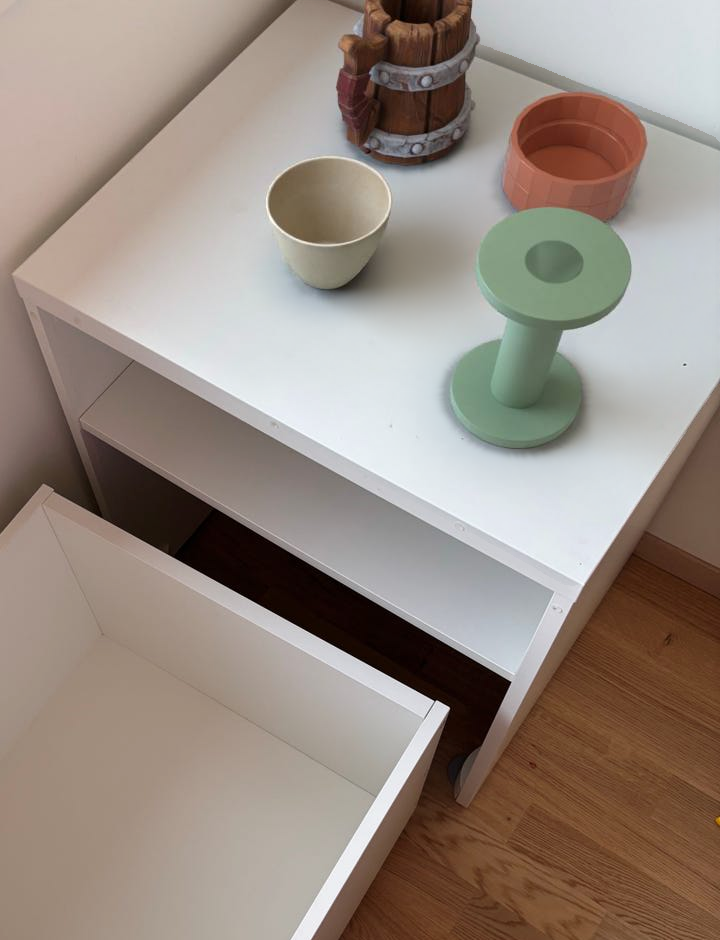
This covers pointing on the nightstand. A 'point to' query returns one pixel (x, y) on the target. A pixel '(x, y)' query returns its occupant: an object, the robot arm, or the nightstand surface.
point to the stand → (536, 322)
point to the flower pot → (328, 217)
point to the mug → (408, 78)
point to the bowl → (574, 154)
